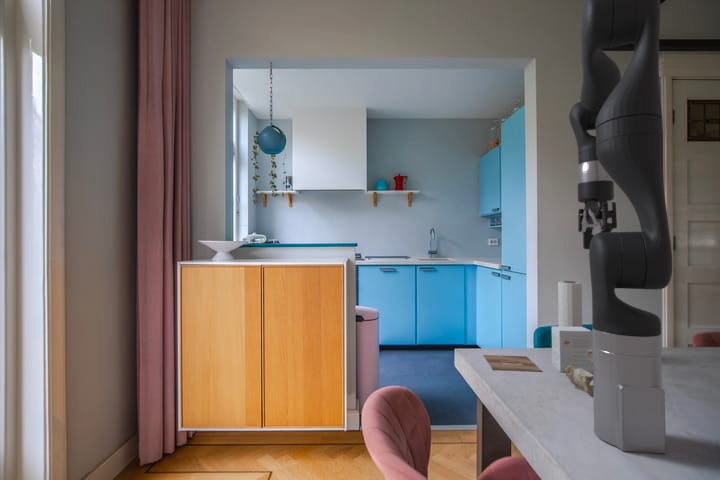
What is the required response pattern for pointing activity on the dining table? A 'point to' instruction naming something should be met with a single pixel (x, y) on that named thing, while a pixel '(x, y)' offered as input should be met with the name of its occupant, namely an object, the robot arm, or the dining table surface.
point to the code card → (511, 363)
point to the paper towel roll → (570, 304)
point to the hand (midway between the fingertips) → (596, 248)
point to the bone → (581, 376)
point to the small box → (571, 347)
